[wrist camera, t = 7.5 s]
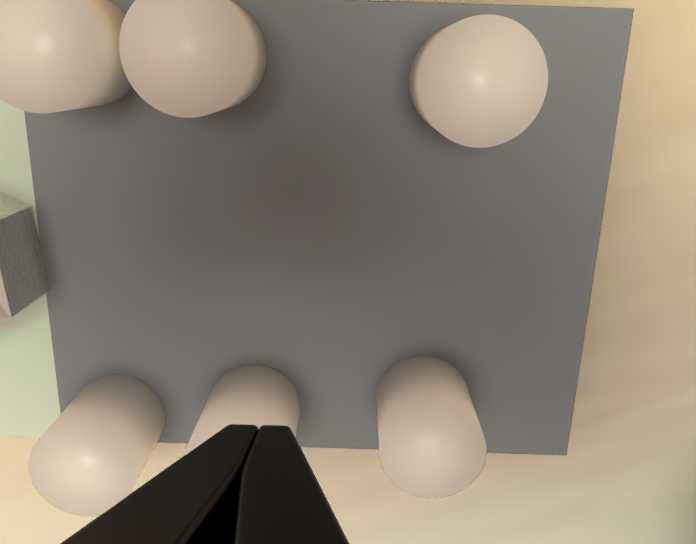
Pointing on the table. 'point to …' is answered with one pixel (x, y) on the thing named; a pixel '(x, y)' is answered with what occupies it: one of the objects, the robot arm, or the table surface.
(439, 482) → the spacers
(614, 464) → the table surface
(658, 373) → the table surface
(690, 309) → the table surface
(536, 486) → the table surface
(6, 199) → the star tealight holder
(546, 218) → the slate board
